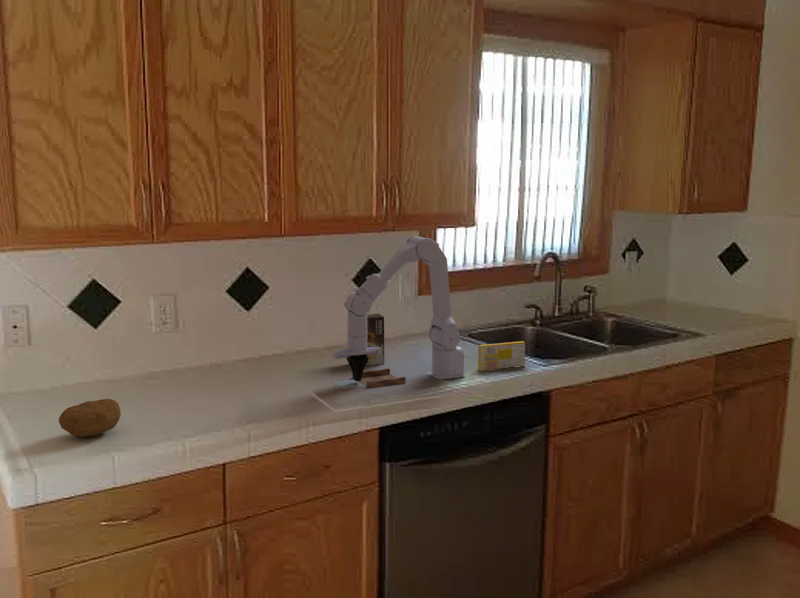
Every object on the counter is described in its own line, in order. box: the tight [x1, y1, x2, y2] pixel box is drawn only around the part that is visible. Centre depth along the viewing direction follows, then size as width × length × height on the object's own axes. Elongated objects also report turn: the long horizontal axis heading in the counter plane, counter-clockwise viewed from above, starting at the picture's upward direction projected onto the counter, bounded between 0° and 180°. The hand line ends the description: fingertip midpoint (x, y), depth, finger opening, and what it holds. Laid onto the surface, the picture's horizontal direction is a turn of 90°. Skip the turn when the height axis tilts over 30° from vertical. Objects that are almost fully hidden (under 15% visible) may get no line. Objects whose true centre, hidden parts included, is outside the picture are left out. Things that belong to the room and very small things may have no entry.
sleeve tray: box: [352, 367, 407, 389], centre depth 231 cm, size 12×11×2 cm
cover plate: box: [332, 378, 366, 390], centre depth 226 cm, size 7×8×1 cm
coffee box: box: [366, 313, 385, 366], centre depth 250 cm, size 9×6×16 cm
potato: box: [58, 398, 122, 438], centre depth 183 cm, size 10×14×8 cm
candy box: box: [477, 340, 526, 372], centre depth 248 cm, size 16×2×8 cm, turn 112°
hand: (357, 380), depth 227 cm, fingers closed
